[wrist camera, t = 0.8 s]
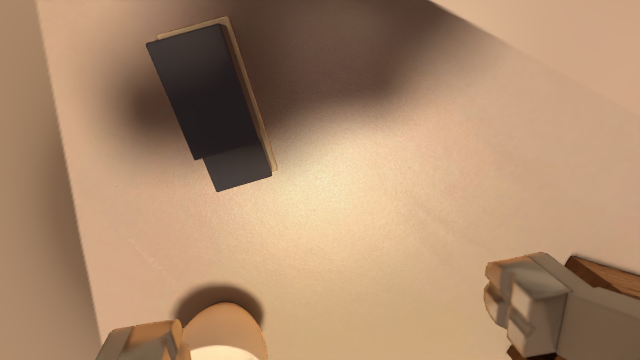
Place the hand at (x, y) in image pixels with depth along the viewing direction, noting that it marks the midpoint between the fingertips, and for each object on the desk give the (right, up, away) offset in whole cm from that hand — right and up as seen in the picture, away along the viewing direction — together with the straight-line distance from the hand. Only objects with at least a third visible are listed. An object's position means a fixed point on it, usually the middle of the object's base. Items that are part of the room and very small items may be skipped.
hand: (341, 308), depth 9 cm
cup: (-10, -10, +24) cm, 28 cm away
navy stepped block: (-7, +9, +17) cm, 20 cm away
